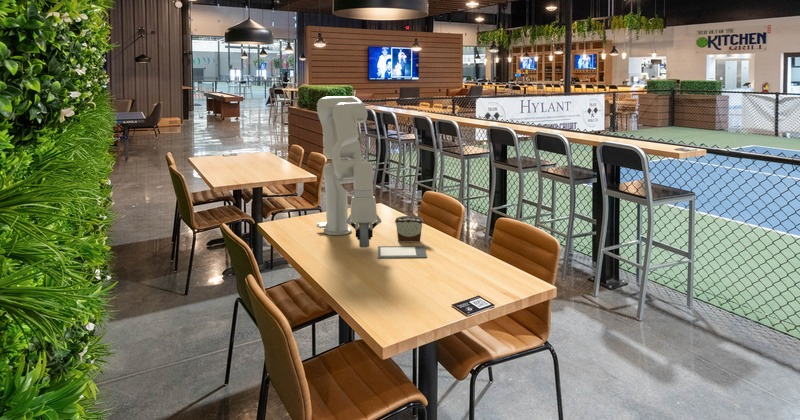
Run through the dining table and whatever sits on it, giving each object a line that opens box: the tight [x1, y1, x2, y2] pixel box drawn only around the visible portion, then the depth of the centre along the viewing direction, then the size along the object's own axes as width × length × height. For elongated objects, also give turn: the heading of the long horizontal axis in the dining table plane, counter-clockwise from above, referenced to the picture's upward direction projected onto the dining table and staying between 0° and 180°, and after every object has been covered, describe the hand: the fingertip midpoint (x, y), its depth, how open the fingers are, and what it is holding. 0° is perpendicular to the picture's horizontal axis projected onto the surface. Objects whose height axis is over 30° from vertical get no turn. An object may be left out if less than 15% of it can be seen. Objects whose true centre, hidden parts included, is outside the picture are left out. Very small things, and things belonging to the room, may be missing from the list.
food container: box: [394, 215, 424, 243], centre depth 249 cm, size 12×6×10 cm, turn 84°
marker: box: [358, 223, 370, 248], centre depth 229 cm, size 4×4×13 cm
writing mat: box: [377, 245, 428, 259], centre depth 232 cm, size 19×15×1 cm
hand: (364, 238), depth 230 cm, fingers closed on marker, 3 cm apart
